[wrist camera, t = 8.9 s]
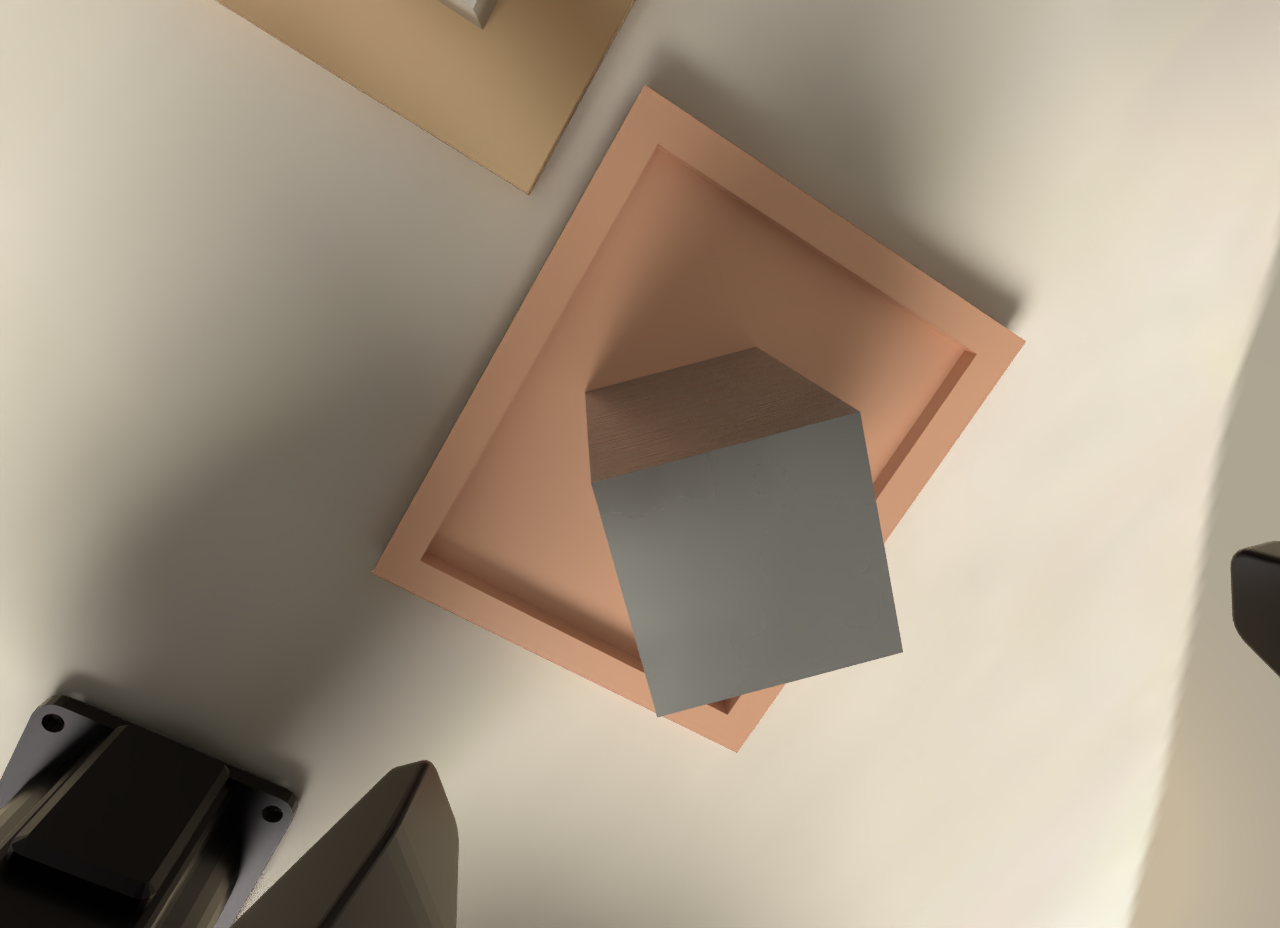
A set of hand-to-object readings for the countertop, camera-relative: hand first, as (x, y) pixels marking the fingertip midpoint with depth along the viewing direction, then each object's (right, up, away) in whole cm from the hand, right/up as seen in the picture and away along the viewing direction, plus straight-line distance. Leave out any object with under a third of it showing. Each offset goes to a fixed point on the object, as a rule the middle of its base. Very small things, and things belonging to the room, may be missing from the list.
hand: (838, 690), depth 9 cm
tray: (-1, +3, +10) cm, 11 cm away
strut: (-1, +3, +10) cm, 11 cm away
